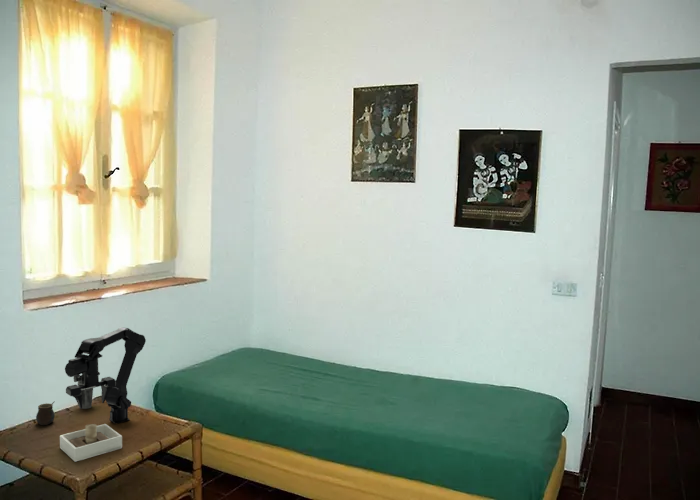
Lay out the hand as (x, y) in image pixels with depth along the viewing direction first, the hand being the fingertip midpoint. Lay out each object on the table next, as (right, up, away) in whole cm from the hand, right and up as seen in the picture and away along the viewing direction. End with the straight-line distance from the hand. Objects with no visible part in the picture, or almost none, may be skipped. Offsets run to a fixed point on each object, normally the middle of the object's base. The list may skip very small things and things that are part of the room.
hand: (92, 405), depth 243 cm
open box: (+6, -13, -14) cm, 20 cm away
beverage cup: (-15, -8, +29) cm, 34 cm away
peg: (+6, -12, -14) cm, 19 cm away
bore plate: (+6, -12, -14) cm, 19 cm away
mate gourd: (-24, -10, +9) cm, 27 cm away
